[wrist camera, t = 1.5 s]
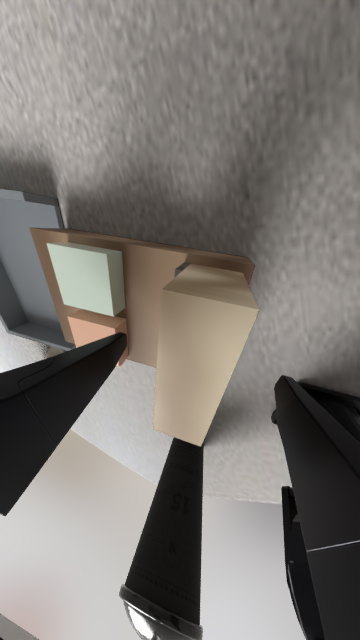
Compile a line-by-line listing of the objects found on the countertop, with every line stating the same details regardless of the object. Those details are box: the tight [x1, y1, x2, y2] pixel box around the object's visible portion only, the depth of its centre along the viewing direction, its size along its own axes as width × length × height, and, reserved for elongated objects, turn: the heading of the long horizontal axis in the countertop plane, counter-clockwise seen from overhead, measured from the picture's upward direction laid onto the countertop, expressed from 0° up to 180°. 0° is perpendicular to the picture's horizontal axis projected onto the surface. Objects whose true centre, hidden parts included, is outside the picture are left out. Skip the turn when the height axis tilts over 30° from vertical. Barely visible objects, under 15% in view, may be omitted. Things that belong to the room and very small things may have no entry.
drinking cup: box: [119, 437, 204, 640], centre depth 17 cm, size 8×8×20 cm
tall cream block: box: [153, 263, 259, 447], centre depth 9 cm, size 3×9×5 cm, turn 172°
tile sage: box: [47, 242, 125, 317], centre depth 11 cm, size 4×4×2 cm
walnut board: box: [29, 227, 255, 368], centre depth 13 cm, size 15×10×3 cm, turn 82°
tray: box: [0, 189, 76, 351], centre depth 15 cm, size 9×14×2 cm, turn 172°
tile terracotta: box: [67, 309, 129, 367], centre depth 13 cm, size 4×4×2 cm
